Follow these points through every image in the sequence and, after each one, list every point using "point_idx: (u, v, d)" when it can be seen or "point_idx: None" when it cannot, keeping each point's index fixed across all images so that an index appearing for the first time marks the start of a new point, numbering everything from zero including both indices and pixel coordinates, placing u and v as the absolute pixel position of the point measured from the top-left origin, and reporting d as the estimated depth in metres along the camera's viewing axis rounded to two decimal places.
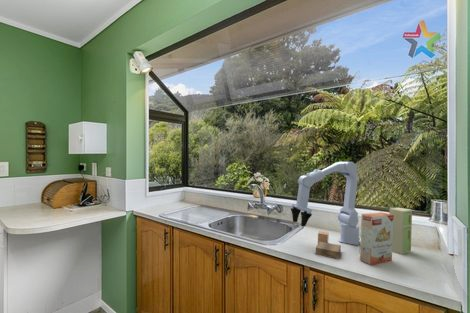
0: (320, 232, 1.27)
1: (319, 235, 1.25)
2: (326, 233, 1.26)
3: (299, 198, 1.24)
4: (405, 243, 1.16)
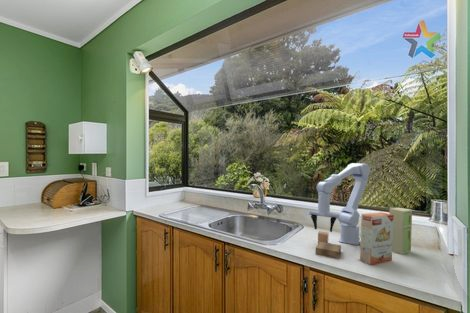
0: (320, 232, 1.27)
1: (319, 235, 1.25)
2: (326, 233, 1.26)
3: (325, 205, 1.24)
4: (405, 243, 1.16)
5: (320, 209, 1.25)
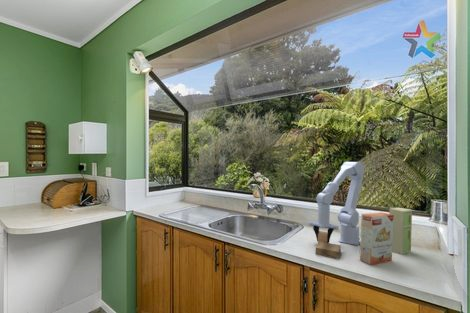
0: (320, 232, 1.27)
1: (319, 235, 1.25)
2: (326, 233, 1.26)
3: (324, 217, 1.24)
4: (405, 243, 1.16)
5: (320, 220, 1.25)
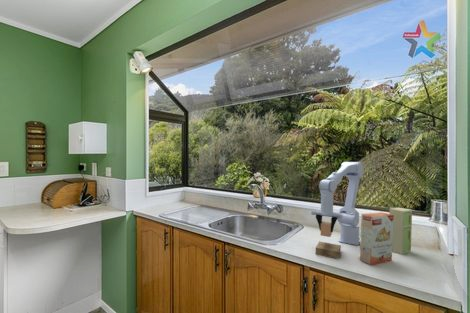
0: (323, 222, 1.20)
1: (322, 225, 1.18)
2: (329, 223, 1.19)
3: (328, 205, 1.17)
4: (405, 243, 1.16)
5: (323, 209, 1.18)
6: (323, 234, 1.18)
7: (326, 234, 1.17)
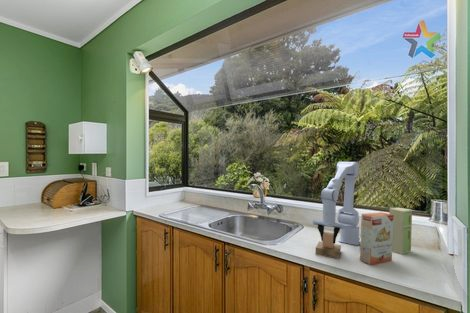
0: (325, 233, 1.16)
1: (324, 236, 1.14)
2: (332, 234, 1.14)
3: (330, 215, 1.12)
4: (405, 243, 1.16)
5: (325, 219, 1.13)
6: (325, 245, 1.13)
7: (328, 245, 1.13)
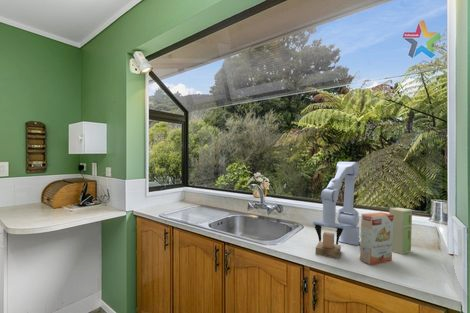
0: (325, 233, 1.16)
1: (324, 236, 1.14)
2: (332, 234, 1.14)
3: (330, 215, 1.12)
4: (405, 243, 1.16)
5: (325, 219, 1.13)
6: (325, 245, 1.13)
7: (328, 245, 1.13)
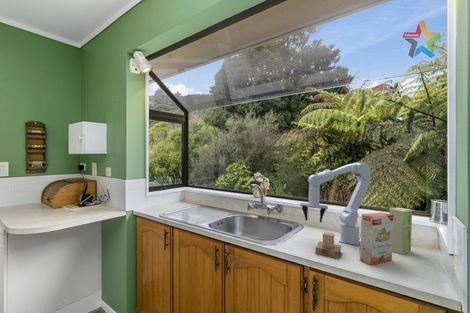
0: (325, 233, 1.16)
1: (324, 236, 1.14)
2: (332, 234, 1.14)
3: (314, 197, 1.30)
4: (405, 243, 1.16)
5: (310, 201, 1.32)
6: (325, 245, 1.13)
7: (328, 245, 1.13)
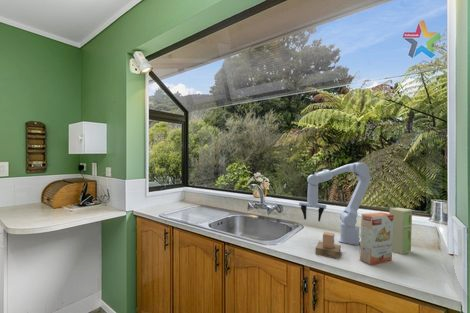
0: (325, 233, 1.16)
1: (324, 236, 1.14)
2: (332, 234, 1.14)
3: (313, 197, 1.32)
4: (405, 243, 1.16)
5: (309, 200, 1.34)
6: (325, 245, 1.13)
7: (328, 245, 1.13)
